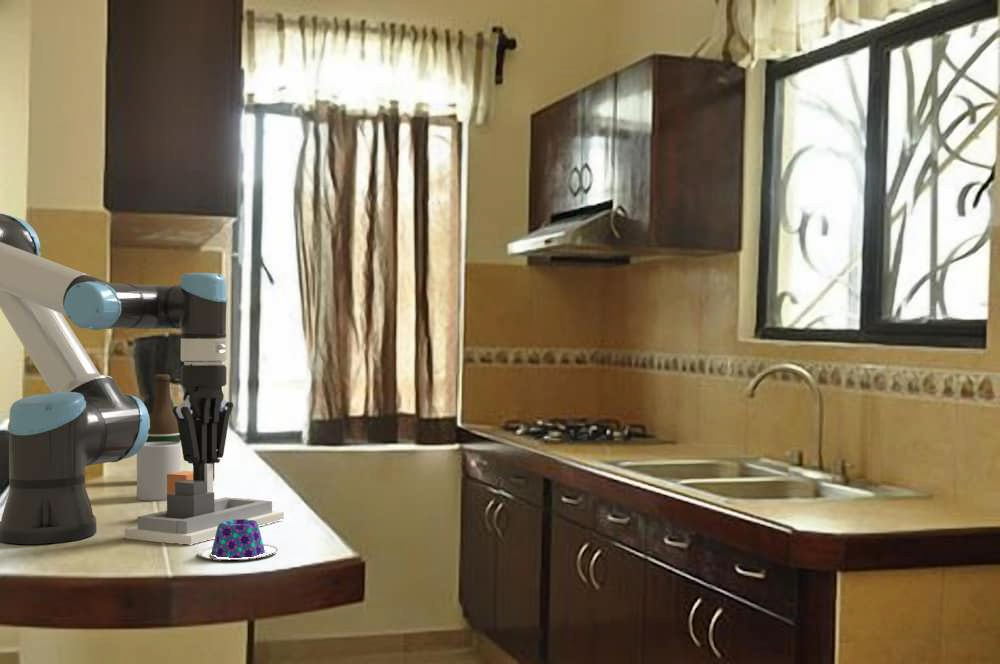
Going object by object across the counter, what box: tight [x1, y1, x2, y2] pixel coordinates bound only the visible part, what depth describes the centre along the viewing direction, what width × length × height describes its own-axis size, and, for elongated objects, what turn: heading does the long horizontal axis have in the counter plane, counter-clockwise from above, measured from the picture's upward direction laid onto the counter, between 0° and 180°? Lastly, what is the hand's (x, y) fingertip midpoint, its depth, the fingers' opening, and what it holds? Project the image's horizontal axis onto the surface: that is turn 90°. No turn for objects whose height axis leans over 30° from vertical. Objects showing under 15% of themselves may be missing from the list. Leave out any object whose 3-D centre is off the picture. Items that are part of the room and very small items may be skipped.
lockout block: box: [167, 470, 193, 494], centre depth 198 cm, size 5×5×8 cm
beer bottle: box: [145, 373, 181, 444], centre depth 241 cm, size 8×8×24 cm
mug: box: [136, 442, 181, 502], centre depth 221 cm, size 12×8×11 cm
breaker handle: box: [166, 480, 215, 519], centre depth 181 cm, size 5×6×7 cm
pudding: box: [197, 519, 279, 561], centre depth 165 cm, size 12×12×5 cm
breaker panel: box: [124, 496, 285, 545], centre depth 185 cm, size 24×14×4 cm, turn 155°
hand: (203, 501), depth 185 cm, fingers closed
